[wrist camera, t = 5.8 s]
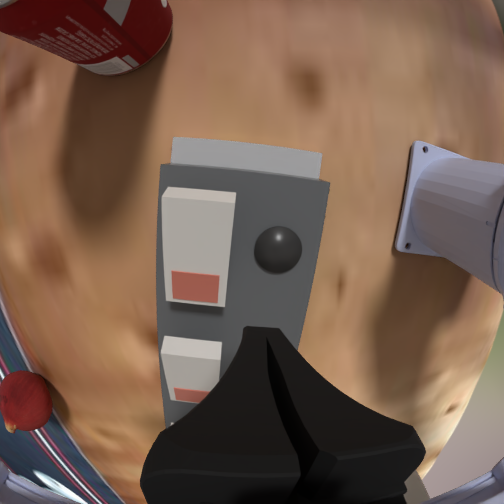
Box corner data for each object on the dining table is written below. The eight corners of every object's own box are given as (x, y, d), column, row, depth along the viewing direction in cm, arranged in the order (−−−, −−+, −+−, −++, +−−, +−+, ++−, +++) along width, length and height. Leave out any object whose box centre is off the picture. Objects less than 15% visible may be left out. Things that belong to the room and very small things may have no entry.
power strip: (319, 153, 18) (338, 153, 14) (262, 443, 26) (265, 472, 23) (175, 137, 17) (160, 133, 14) (174, 436, 25) (169, 464, 22)
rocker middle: (221, 342, 16) (220, 361, 15) (218, 390, 20) (217, 406, 18) (164, 335, 16) (160, 354, 15) (173, 385, 19) (170, 400, 18)
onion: (24, 384, 23) (-8, 431, 16) (15, 347, 22) (-25, 394, 14) (66, 405, 24) (38, 458, 17) (61, 369, 23) (24, 426, 15)
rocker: (236, 192, 14) (234, 203, 13) (226, 292, 17) (224, 307, 16) (168, 186, 13) (161, 197, 12) (170, 286, 17) (165, 301, 16)
